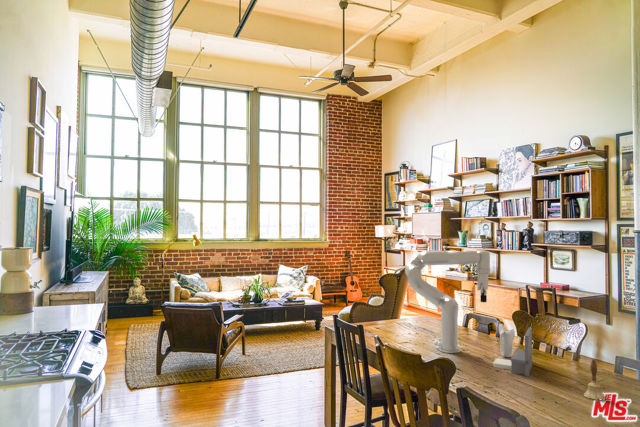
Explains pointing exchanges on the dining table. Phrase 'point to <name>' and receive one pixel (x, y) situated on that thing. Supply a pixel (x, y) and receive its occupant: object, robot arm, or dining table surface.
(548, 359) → the dining table surface
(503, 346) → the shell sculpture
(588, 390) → the hand bell
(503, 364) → the ceramic tile
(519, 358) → the gray l-shaped bracket
